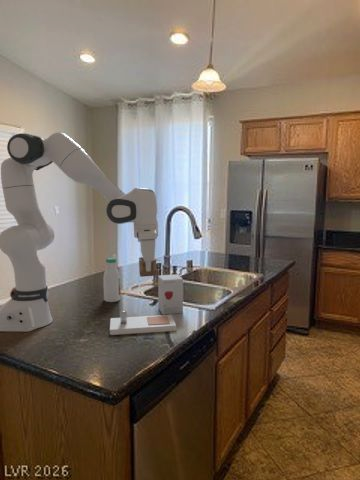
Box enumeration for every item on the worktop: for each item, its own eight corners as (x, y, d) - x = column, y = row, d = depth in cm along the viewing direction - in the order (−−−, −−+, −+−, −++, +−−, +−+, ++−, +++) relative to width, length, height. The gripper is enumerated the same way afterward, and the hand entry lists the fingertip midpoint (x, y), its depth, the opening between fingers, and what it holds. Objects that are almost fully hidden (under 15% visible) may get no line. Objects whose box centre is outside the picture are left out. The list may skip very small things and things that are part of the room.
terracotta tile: (148, 325, 136) (148, 324, 136) (146, 317, 144) (146, 317, 144) (169, 323, 138) (169, 323, 137) (167, 316, 145) (167, 315, 145)
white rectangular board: (109, 335, 132) (109, 329, 132) (110, 323, 144) (110, 318, 144) (176, 330, 136) (176, 325, 136) (171, 319, 148) (171, 314, 148)
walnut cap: (156, 275, 135) (156, 259, 134) (140, 276, 134) (139, 260, 133) (155, 272, 141) (154, 256, 140) (139, 273, 140) (138, 257, 139)
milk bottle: (117, 303, 169) (115, 260, 167) (101, 302, 171) (99, 259, 168) (122, 298, 177) (121, 257, 174) (107, 297, 178) (106, 256, 176)
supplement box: (162, 315, 153) (162, 280, 151) (157, 308, 161) (157, 275, 159) (183, 313, 155) (183, 278, 153) (178, 306, 164) (177, 273, 162)
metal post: (120, 324, 137) (120, 312, 137) (120, 321, 140) (120, 310, 139) (127, 323, 138) (126, 312, 137) (126, 321, 140) (126, 310, 139)
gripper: (136, 229, 145) (138, 264, 147) (138, 235, 125) (140, 275, 127) (152, 228, 146) (153, 263, 148) (157, 234, 126) (158, 274, 128)
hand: (147, 268), depth 137 cm, fingers closed on walnut cap, 6 cm apart
